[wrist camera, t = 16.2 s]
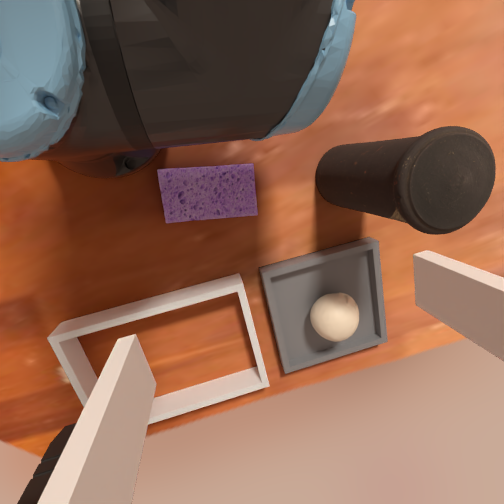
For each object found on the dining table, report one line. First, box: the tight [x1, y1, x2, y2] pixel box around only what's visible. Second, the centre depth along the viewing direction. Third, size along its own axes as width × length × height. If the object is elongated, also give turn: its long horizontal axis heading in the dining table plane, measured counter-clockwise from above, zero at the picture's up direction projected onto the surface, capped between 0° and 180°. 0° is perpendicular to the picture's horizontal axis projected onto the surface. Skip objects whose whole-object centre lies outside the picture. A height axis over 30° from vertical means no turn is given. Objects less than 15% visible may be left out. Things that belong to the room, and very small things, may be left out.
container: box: [316, 126, 495, 234], centre depth 32 cm, size 9×9×20 cm
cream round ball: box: [310, 292, 359, 342], centre depth 43 cm, size 7×7×7 cm
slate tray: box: [259, 237, 388, 374], centre depth 46 cm, size 18×18×2 cm
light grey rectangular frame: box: [47, 273, 269, 425], centre depth 43 cm, size 26×18×4 cm
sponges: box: [157, 163, 258, 223], centre depth 39 cm, size 7×13×2 cm, turn 94°
